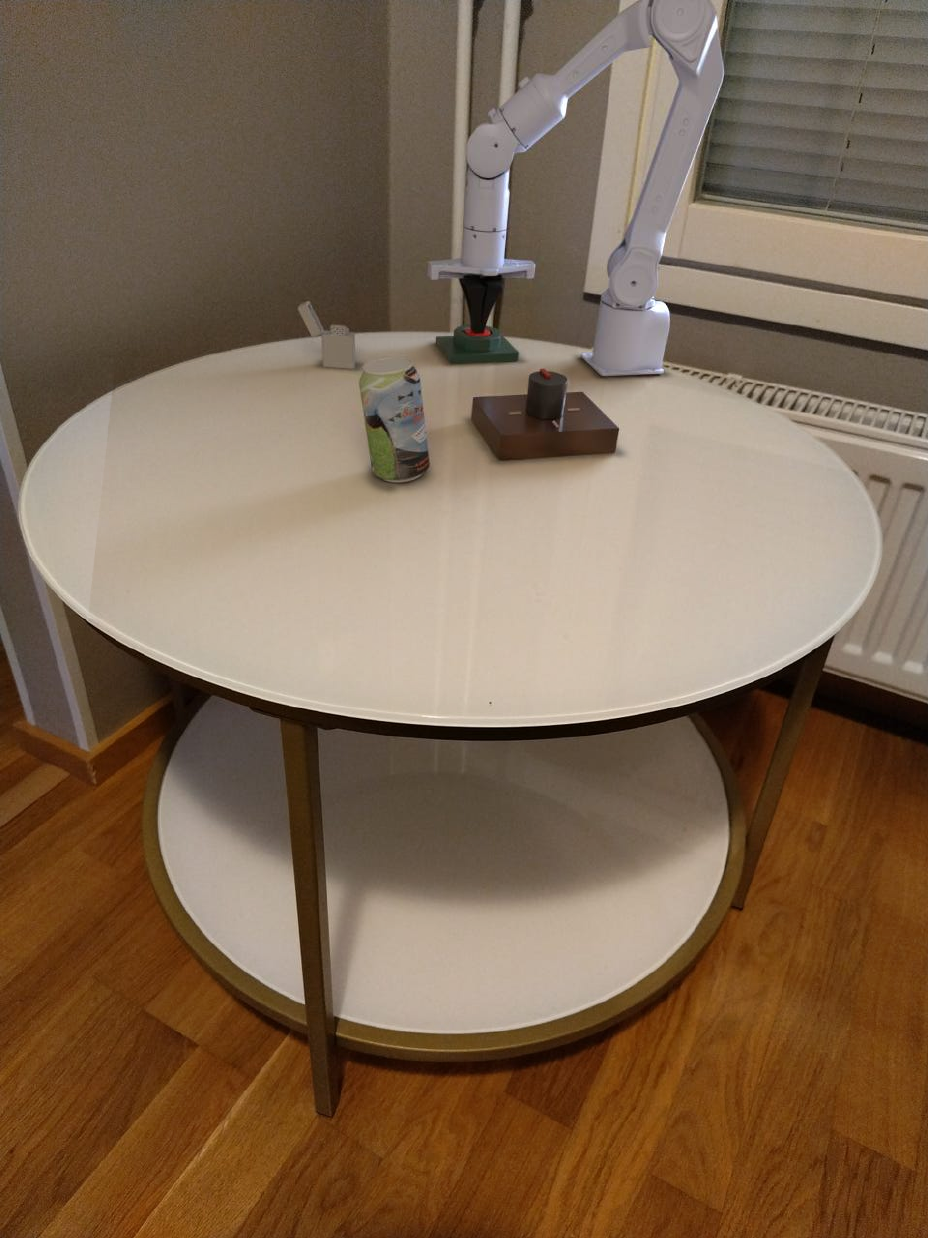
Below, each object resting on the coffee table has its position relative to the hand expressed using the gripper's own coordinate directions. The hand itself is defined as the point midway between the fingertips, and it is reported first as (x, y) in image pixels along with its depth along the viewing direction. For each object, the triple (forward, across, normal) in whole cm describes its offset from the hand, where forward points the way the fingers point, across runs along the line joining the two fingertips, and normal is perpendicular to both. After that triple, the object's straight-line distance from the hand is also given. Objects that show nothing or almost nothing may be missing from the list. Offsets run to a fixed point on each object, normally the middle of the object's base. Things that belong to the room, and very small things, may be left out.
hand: (477, 331), depth 121 cm
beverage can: (+3, -20, -36) cm, 41 cm away
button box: (+3, 0, 0) cm, 3 cm away
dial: (0, 0, -28) cm, 29 cm away
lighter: (+3, -22, -2) cm, 22 cm away
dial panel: (+3, 0, -28) cm, 29 cm away
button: (+2, 0, 0) cm, 2 cm away
